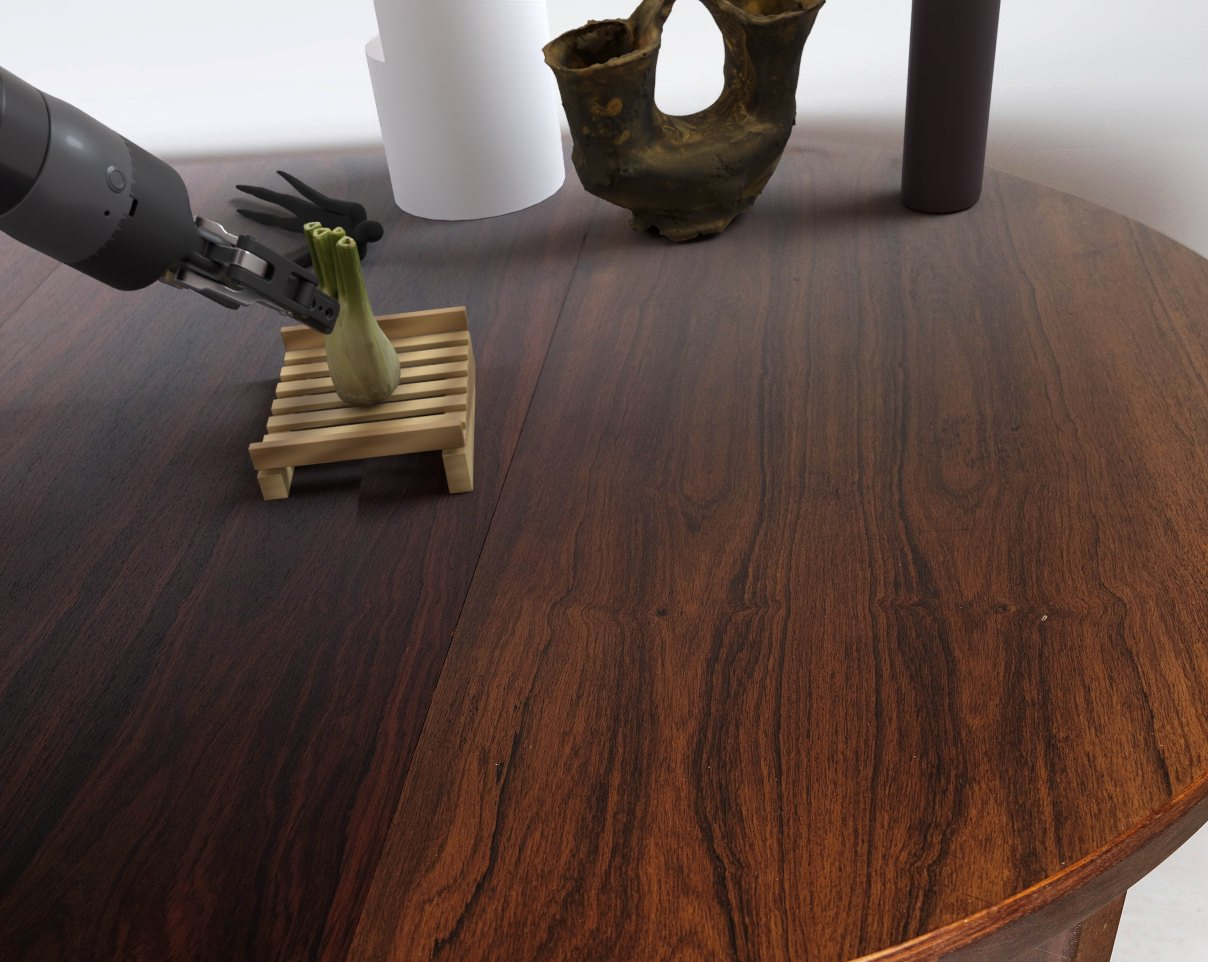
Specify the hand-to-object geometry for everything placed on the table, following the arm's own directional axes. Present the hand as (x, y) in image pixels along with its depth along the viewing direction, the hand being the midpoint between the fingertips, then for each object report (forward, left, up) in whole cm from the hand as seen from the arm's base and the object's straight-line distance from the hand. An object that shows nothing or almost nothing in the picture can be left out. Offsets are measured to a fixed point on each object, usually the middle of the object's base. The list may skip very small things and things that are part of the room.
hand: (285, 307), depth 83 cm
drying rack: (+3, +4, -12) cm, 13 cm away
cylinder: (+10, +52, -12) cm, 54 cm away
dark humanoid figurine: (-9, +41, -12) cm, 44 cm away
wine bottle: (+52, +35, -12) cm, 64 cm away
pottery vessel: (+30, +37, -12) cm, 49 cm away
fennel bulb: (+3, +4, -9) cm, 10 cm away
